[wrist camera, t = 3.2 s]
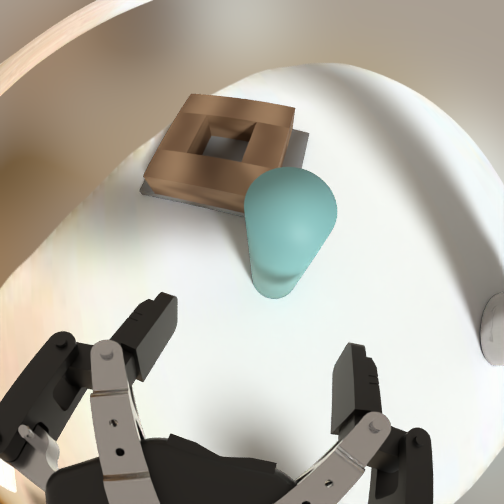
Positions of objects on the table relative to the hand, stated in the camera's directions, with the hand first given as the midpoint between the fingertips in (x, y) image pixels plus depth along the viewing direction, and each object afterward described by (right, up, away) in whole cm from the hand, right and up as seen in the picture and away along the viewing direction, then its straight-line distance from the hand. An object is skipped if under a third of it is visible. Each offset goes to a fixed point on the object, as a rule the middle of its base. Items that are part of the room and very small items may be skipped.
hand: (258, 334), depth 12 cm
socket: (-3, +14, +17) cm, 22 cm away
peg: (+2, +1, +13) cm, 13 cm away
